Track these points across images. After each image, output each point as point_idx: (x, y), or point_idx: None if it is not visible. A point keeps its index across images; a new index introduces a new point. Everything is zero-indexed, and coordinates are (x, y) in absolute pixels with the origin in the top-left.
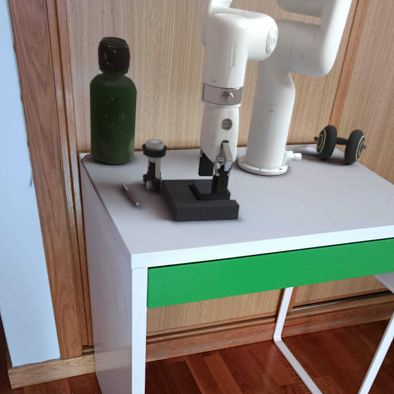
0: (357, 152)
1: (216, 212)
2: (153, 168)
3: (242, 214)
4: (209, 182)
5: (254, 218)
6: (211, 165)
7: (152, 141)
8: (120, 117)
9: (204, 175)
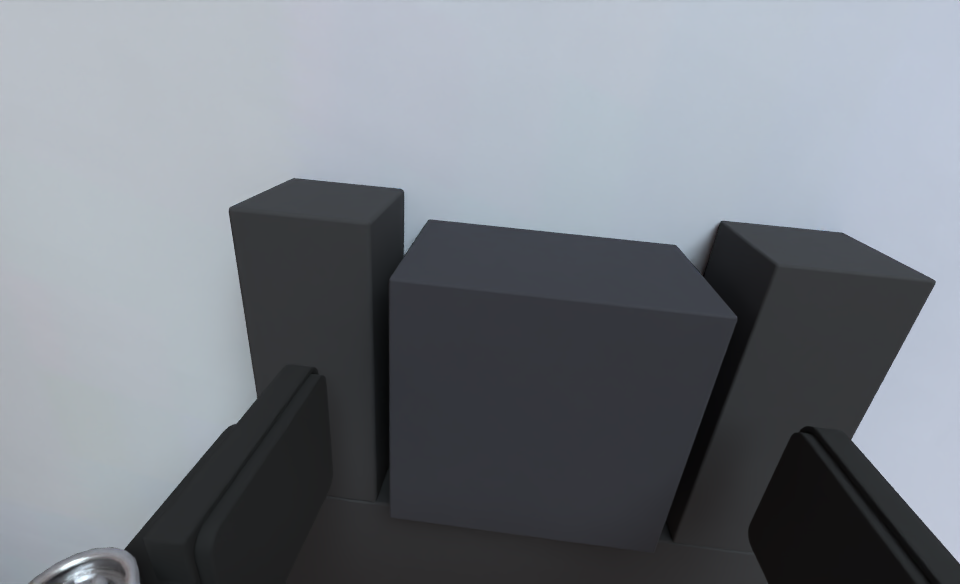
0: None
1: None
2: None
3: (771, 145)
4: (429, 411)
5: (899, 60)
6: (270, 479)
7: None
8: None
9: (328, 446)
